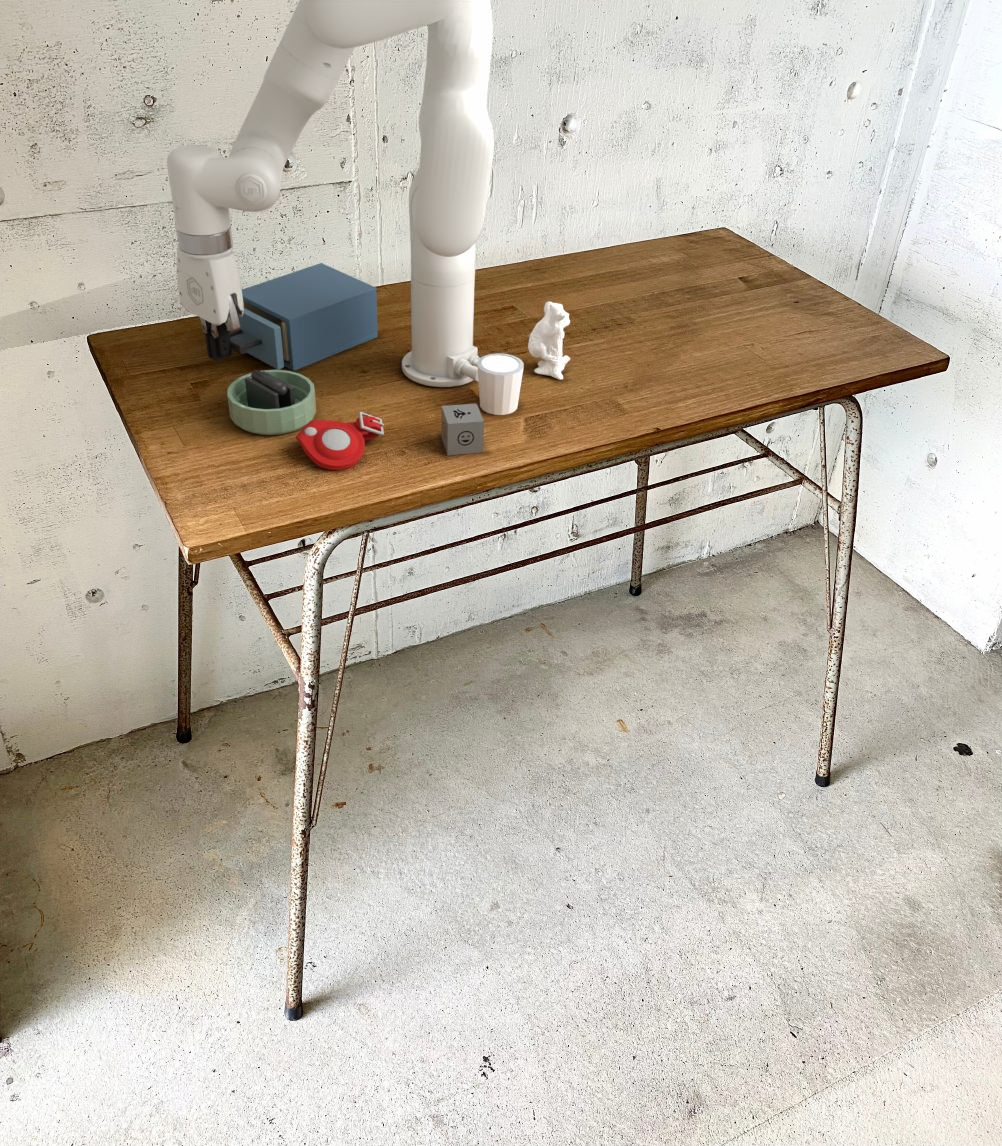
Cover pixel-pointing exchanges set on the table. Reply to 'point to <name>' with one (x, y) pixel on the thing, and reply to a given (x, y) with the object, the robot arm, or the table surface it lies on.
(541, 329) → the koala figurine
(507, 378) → the white faceted cup
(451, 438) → the dice cube
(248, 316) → the drawer
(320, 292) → the cabinet
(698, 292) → the table surface
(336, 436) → the tracker holder
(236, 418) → the bowl
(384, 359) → the table surface
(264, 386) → the grey roller rack
